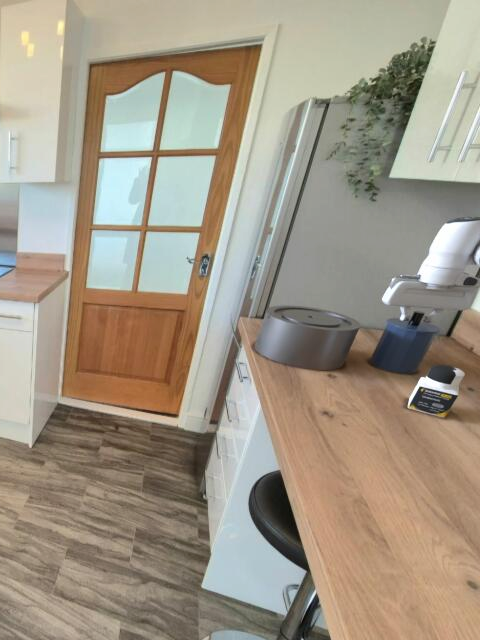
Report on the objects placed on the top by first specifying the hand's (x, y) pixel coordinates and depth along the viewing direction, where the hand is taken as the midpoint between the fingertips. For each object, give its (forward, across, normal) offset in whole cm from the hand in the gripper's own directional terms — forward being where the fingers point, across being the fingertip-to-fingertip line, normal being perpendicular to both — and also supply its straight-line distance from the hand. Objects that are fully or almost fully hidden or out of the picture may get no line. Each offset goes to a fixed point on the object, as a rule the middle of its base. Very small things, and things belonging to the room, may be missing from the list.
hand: (415, 321), depth 131 cm
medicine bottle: (+15, -6, -30) cm, 34 cm away
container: (+15, -26, +2) cm, 30 cm away
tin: (+15, 0, 0) cm, 15 cm away
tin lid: (+2, 0, 0) cm, 2 cm away
